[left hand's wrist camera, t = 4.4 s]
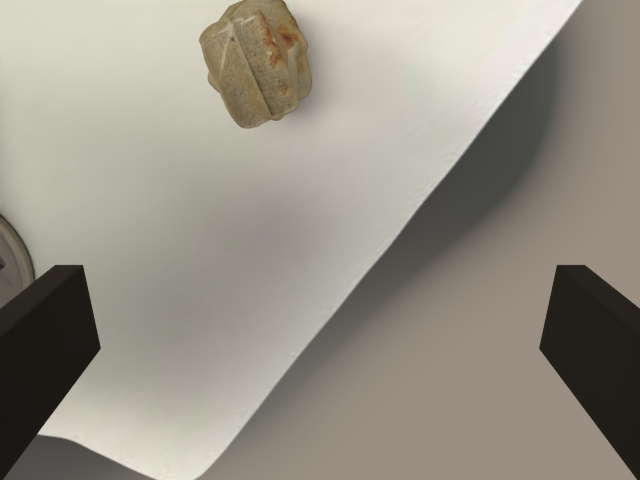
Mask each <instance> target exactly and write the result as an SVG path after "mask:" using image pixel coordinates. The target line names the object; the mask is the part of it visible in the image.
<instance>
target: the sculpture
mask: <svg viewBox="0 0 640 480" xmlns="http://www.w3.org/2000/svg"><path fill="white" fill-rule="evenodd" d="M199 42H200V44H201V47H202V51H203V55H204V59H205V62H206V64H207V67H208V69H209V74H208V81H209V83H210V85H211V86H212V87H213V88H214V89H216V90H217V91H218V92H219V93H220V95H221V97H222V99H223V101H224V104H225V106H226V108H227V110H228V112H229V114H230V115H231V117H232V118H233V119H234V121H235V122H236V123H237V124H238V125H239V126H240V127H241V128H254V127H258V126H260V125H261V124H263V123H265V122H267V121H269V120H274V121H278V120H281V119H282V118H283V117H284V116H285V115H286V114H288V113H290V112H292V111H294V110H295V109H296V108H297V107H298V105H299V101H298V99H301V98H303V97H305V96H306V95H307V94H308V93H309V91H310V89H311V83H312V81H311V74H310V70H309V65H308V62H307V58H306V55H305V53H306V50H307V47H308V45H307V42H306V40H305V38H304V36H303V35H302V33H301V31H300V29H299V27H298V25H297V23H296V20H295V19H294V18H293V16H292V15H291V13H290V12H289V10H288V8H287V6H286V4H285V2H284V1H283V0H242V1H240V2H238V3H236V4H233V5H231V6H229V7H228V9H227V10H226V12H225V13H224V14H223V16H222V17H221V18H220V20H219V21H218V22H216V23H214V24H212V25H210V26H209V27H207V28H206V29H205V30H204V32H203V33H202V34H201V36H200V38H199Z"/></svg>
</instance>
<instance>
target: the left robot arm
mask: <svg viewBox="0 0 640 480" xmlns="http://www.w3.org/2000/svg"><path fill="white" fill-rule="evenodd" d="M100 349H101V347H100V342H99V338H98V333H97V328H96V324H95V319H94V314H93V310H92V305H91V300H90V296H89V291H88V286H87V282H86V277H85V273H84V268H83V265H55V266H53V267H52V268H51V269H50V270H48V271H47V272H46V273H45V274H43V275H42V276H41V277H40V278H38V279H37V280H36V281H34V277H33V270H32V265H31V262H30V259H29V256H28V254H27V251H26V249H25V247H24V245H23V244H22V242H21V240H20V239H19V237H18V236H17V234H16V233H15V232H14V230H13V229H12V228H11V227H10V225H9V224H8V223H7V222H6V221H5V220H4V219H3V218H2V217H1V216H0V480H3V479H4V477H5V476H6V475H7V473H8V472H9V471H10V469H11V468H12V467H13V465H14V464H15V463H16V461H17V460H18V459H19V457H20V456H21V455H22V453H23V452H24V451H25V449H26V448H27V447H28V445H29V444H30V442H31V441H32V440H33V439H34V437H35V436H36V435H37V433H38V432H39V431H40V429H41V428H42V427H43V425H44V424H45V423H46V421H47V420H48V419H49V417H50V416H51V415H52V413H53V412H54V410H55V409H56V408H57V406H58V405H59V404H60V402H61V401H62V400H63V398H64V397H65V396H66V394H67V393H68V392H69V390H70V389H71V388H72V386H73V385H74V384H75V382H76V381H77V380H78V378H79V377H80V376H81V374H82V373H83V372H84V370H85V369H86V368H87V366H88V365H89V364H90V362H91V361H92V360H93V358H94V357H95V356H96V354H97V353H98V352H99V350H100ZM539 349H540V350H541V352H542V353H543V354H544V356H545V357H546V358H547V360H548V361H549V362H550V364H551V365H552V366H553V368H554V369H555V370H556V372H557V373H558V374H559V376H560V377H561V378H562V380H563V381H564V382H565V384H566V385H567V386H568V388H569V389H570V390H571V392H572V393H573V394H574V396H575V397H576V398H577V400H578V401H579V402H580V404H581V405H582V406H583V408H584V409H585V410H586V412H587V413H588V414H589V416H590V417H591V419H592V420H593V421H594V422H595V424H596V425H597V427H598V428H599V429H600V431H601V432H602V433H603V435H604V436H605V437H606V439H607V440H608V441H609V443H610V444H611V445H612V447H613V448H614V449H615V451H616V452H617V453H618V455H619V456H620V457H621V459H622V460H623V461H624V463H625V464H626V465H627V467H628V468H629V469H630V471H631V472H632V473H633V475H634V476H635V477H636V479H637V480H640V308H638V307H637V306H636V305H635V304H633V303H632V302H631V301H629V300H628V299H627V298H626V297H624V296H623V295H622V294H621V293H619V292H618V291H617V290H616V289H614V288H613V287H612V286H611V285H609V284H608V283H607V282H606V281H604V280H603V279H602V278H600V277H599V276H598V275H597V274H595V273H594V272H593V271H592V270H590V269H589V268H588V267H586V266H585V265H557V268H556V273H555V277H554V282H553V286H552V291H551V296H550V301H549V305H548V310H547V314H546V319H545V324H544V328H543V333H542V338H541V343H540V347H539Z"/></svg>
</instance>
